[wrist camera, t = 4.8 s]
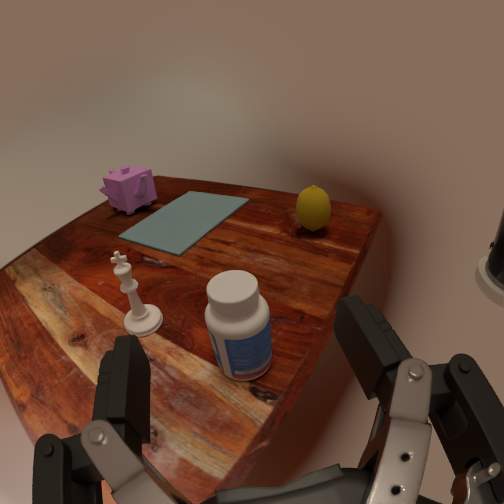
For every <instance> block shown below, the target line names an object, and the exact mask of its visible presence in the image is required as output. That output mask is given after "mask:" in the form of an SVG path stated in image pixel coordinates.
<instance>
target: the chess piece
mask: <svg viewBox="0 0 504 504" xmlns="http://www.w3.org/2000/svg"><path fill="white" fill-rule="evenodd" d="M114 255H115V257H111V263H117V264H118V265H117V266H116V267H115V268H114V274H115V275H116V276H117V277H118V278H119V279H120V281H121V282H122V284H121V285H120V290H121V291H122V292H123V293H127V294H128V298H129V301H130V305H131V309H132V310H130V311H129V312H128V313H127V315H126V317H125V319H124V325H125V328H126V331H127V332H128V333H129V334H131V335H136V336H137V337H141V336H147V335H149V334H151V333H153V332H155V331H156V330H157V329H158V328H159V327H160V326H161V324H162V321H163V315H162V313H161V312H160V310H159V309H158V308H157V307H156V306H154V305H150V304H144V305H143V303H142V301H141V300H140V298H139V296H138V295H137V293H136V291H135V289H136V288H137V286H138V282H137V281H136V280H134V279H131V265H130V264H129V263H123V261H126V260H127V257H126V255H124V256H120V253H119V251H115V252H114Z"/></svg>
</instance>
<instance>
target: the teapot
mask: <svg viewBox="0 0 504 504" xmlns="http://www.w3.org/2000/svg"><path fill="white" fill-rule="evenodd" d="M109 172H110V175H108V176H106V177H103V180H104V184H105V187H102V188H101V189H100V191H101V192H102V193H104V194H105V195H106V196H108V199H109V203H110V206H113V207H115V208H118V209H117V211H121V210H123V211H126V212H127V215H130V214H133V213H134V212H135V209H137V208H139V207H141V206H143V205H144V206H148V205H151V204H152V203H151V201H153V200H155V199H157V195H156V191H155V186H154V181H153V176H152V171H151V169H150V168H144V167H134V166H125V167H122V168H120V171H117V172H115V171H114V170H113V169H109Z"/></svg>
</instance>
